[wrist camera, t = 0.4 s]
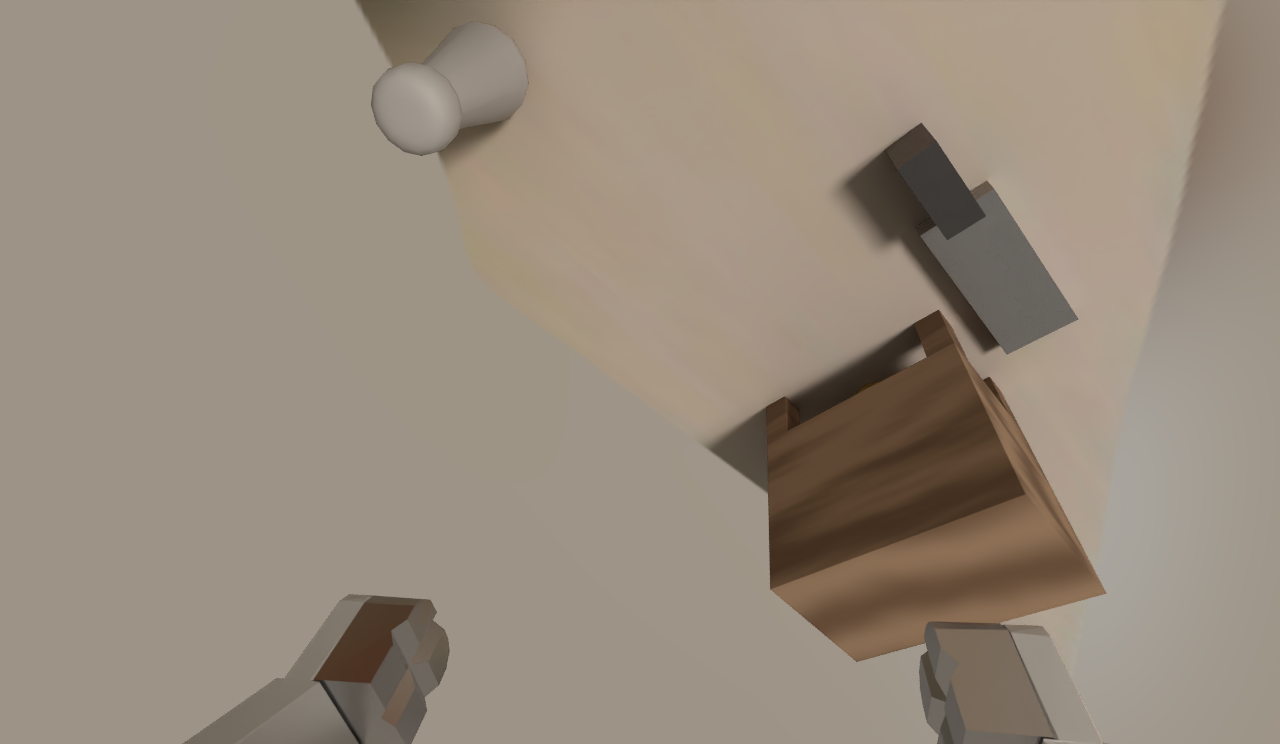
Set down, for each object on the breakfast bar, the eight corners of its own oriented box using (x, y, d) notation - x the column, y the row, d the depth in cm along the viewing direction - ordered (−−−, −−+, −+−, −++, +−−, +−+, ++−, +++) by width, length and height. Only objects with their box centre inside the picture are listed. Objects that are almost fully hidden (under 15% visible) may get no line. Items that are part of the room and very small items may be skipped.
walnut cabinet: (766, 407, 53) (770, 589, 39) (938, 310, 45) (1025, 494, 31) (838, 479, 57) (866, 669, 43) (1008, 401, 49) (1114, 603, 35)
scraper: (868, 162, 40) (877, 183, 37) (940, 108, 37) (957, 126, 34) (1000, 343, 46) (1018, 374, 43) (1069, 308, 44) (1093, 338, 41)
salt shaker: (543, 113, 41) (472, 177, 31) (464, 114, 42) (371, 176, 32) (529, 15, 38) (446, 50, 27) (444, 18, 39) (332, 53, 28)
